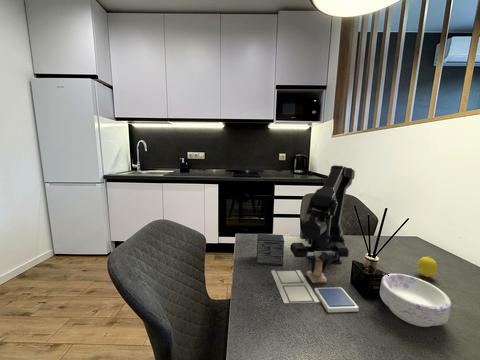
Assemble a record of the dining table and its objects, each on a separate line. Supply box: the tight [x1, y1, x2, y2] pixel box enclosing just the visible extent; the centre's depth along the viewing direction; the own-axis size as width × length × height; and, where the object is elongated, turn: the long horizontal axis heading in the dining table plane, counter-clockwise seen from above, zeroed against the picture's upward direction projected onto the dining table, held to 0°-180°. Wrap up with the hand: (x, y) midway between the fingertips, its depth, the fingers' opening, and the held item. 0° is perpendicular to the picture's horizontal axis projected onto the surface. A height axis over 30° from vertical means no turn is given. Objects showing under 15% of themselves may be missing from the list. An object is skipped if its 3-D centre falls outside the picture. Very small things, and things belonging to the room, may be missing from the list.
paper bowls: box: [379, 273, 452, 328], centre depth 61 cm, size 15×15×8 cm
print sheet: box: [270, 269, 321, 305], centre depth 73 cm, size 11×17×1 cm, turn 5°
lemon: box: [417, 256, 438, 278], centre depth 80 cm, size 6×6×8 cm
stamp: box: [306, 257, 328, 284], centre depth 76 cm, size 5×5×7 cm
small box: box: [255, 233, 285, 267], centre depth 87 cm, size 11×6×10 cm, turn 84°
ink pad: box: [314, 286, 360, 313], centre depth 66 cm, size 9×9×2 cm
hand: (316, 272), depth 76 cm, fingers closed on stamp, 3 cm apart
